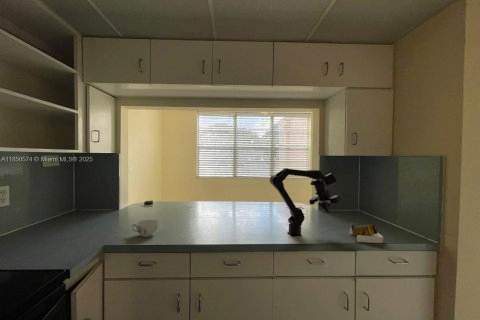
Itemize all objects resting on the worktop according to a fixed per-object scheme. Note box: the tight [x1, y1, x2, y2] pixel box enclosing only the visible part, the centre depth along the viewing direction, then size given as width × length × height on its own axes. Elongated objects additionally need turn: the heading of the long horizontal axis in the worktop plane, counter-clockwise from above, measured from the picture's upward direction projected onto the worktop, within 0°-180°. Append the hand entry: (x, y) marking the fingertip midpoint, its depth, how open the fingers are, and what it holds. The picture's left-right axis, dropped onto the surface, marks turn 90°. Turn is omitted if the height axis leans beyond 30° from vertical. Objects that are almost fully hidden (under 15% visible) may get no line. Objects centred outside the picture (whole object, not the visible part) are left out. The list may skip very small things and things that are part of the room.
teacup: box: [131, 219, 159, 238], centre depth 149 cm, size 15×12×8 cm
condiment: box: [349, 222, 378, 240], centre depth 147 cm, size 7×8×12 cm
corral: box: [349, 227, 384, 244], centre depth 150 cm, size 14×14×4 cm
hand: (328, 212), depth 158 cm, fingers closed
